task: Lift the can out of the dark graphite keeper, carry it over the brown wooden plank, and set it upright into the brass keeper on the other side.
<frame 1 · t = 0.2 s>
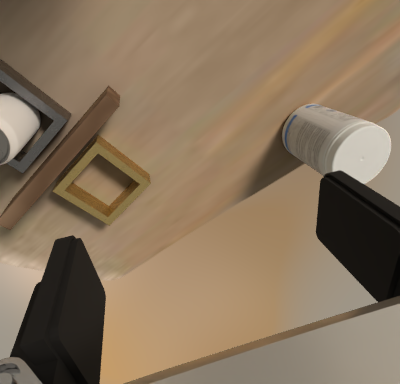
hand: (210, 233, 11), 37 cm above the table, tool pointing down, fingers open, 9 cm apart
brass keeper: (104, 177, 48), on the table
brown wooden plank: (64, 149, 44), on the table
can: (16, 115, 41), resting in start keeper
supplement tub: (303, 128, 52), on the table
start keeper: (16, 115, 40), on the table
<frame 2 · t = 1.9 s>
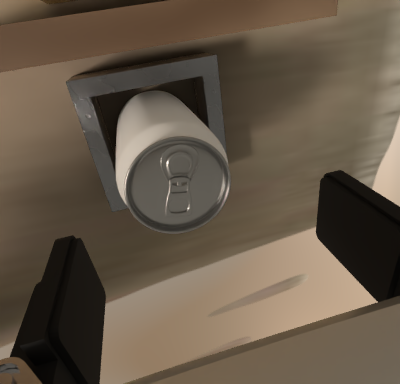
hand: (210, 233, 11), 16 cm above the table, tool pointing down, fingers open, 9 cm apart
brown wooden plank: (133, 30, 21), on the table
can: (154, 127, 25), resting in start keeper
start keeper: (155, 127, 25), on the table
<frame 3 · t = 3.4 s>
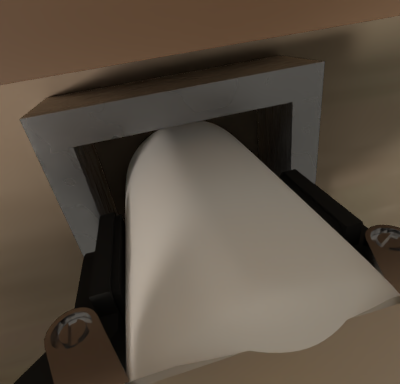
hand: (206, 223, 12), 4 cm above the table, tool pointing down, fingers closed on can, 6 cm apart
brown wooden plank: (157, 14, 11), on the table
can: (187, 177, 15), resting in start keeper, touching gripper
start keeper: (187, 179, 15), on the table
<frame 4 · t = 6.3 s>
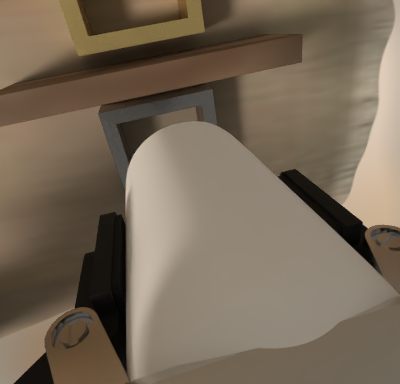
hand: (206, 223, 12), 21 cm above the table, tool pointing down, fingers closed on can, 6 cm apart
brown wooden plank: (147, 69, 27), on the table
can: (187, 177, 15), point 16 cm above the table, touching gripper
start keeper: (164, 143, 31), on the table
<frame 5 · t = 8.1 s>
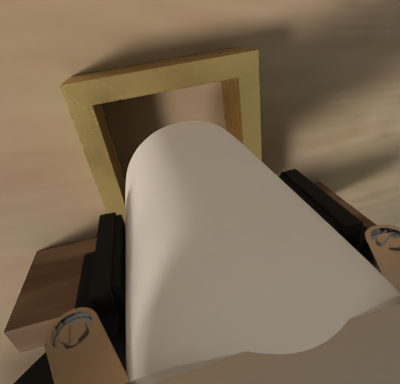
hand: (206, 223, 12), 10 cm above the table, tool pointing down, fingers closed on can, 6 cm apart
brass keeper: (172, 140, 20), on the table
brown wooden plank: (189, 224, 24), on the table
can: (187, 177, 15), point 6 cm above the table, touching gripper
when the fingers open (6 cm above the table, at t = 9.4 s): can drops 2 cm, resting in brass keeper.
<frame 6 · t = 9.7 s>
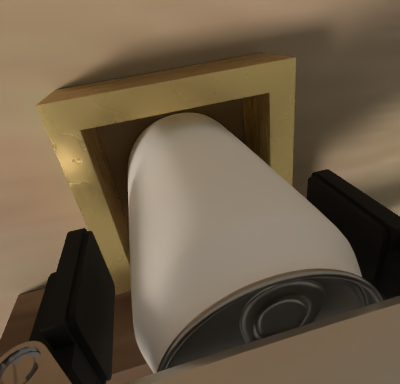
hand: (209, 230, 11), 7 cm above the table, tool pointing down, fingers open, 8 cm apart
brass keeper: (181, 164, 17), on the table
brown wooden plank: (198, 258, 21), on the table
can: (183, 164, 17), resting in brass keeper
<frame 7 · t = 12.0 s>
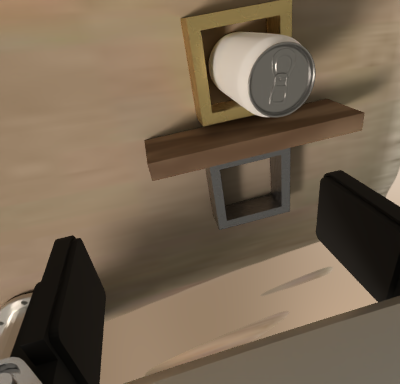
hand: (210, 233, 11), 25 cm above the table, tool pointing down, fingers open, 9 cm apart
brass keeper: (233, 63, 32), on the table
brown wooden plank: (239, 126, 36), on the table
can: (234, 63, 33), resting in brass keeper
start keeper: (243, 177, 40), on the table
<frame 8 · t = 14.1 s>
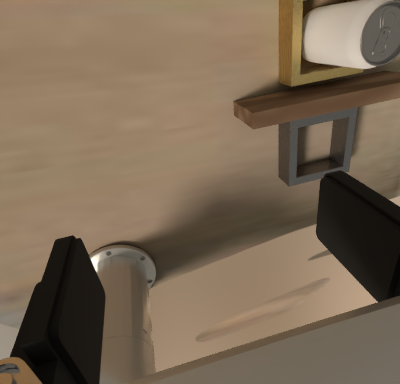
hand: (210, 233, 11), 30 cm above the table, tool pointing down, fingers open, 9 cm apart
brass keeper: (315, 34, 38), on the table
brown wooden plank: (311, 92, 42), on the table
can: (315, 35, 38), resting in brass keeper
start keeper: (308, 140, 46), on the table
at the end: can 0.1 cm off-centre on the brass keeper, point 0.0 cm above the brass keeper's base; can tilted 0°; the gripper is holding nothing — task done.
